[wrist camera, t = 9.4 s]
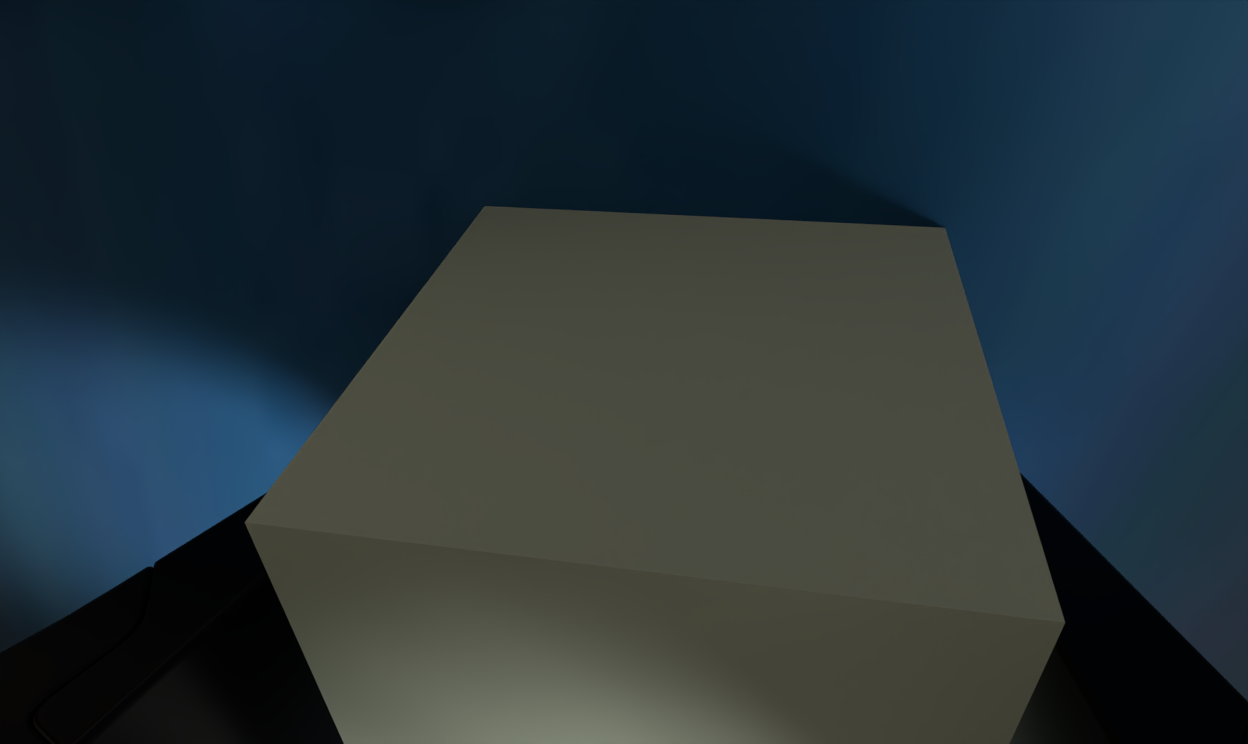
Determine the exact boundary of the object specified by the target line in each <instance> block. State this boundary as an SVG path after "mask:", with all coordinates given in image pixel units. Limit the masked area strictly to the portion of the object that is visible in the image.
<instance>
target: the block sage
mask: <svg viewBox="0 0 1248 744" xmlns="http://www.w3.org/2000/svg"><path fill="white" fill-rule="evenodd" d="M245 524H246V527H247V529H248V531H249V533H250V536H251V538H252V540H253V542H254V545H255V547H256V549H257V551H258V553H259V556H260V558H261V560H262V562H263V565H264V567H265V569H266V571H267V573H268V576H269V578H270V580H271V582H272V585H273V587H274V589H275V591H276V594H277V596H278V598H279V600H280V602H281V605H282V607H283V609H284V611H285V614H286V616H287V618H288V620H289V622H290V625H291V627H292V629H293V631H294V634H295V636H296V638H297V640H298V642H299V645H300V647H301V649H302V651H303V654H304V656H305V658H306V660H307V663H308V665H309V667H310V669H311V671H312V674H313V676H314V678H315V680H316V683H317V685H318V687H319V689H320V691H321V694H322V696H323V698H324V700H325V703H326V705H327V707H328V709H329V712H330V714H331V716H332V718H333V720H334V723H335V725H336V727H337V729H338V732H339V734H340V736H341V738H342V740H343V743H344V744H1010V741H1011V739H1012V737H1013V735H1014V733H1015V731H1016V728H1017V726H1018V724H1019V722H1020V720H1021V718H1022V715H1023V713H1024V711H1025V709H1026V707H1027V705H1028V702H1029V700H1030V698H1031V696H1032V694H1033V692H1034V689H1035V687H1036V685H1037V683H1038V681H1039V678H1040V676H1041V674H1042V672H1043V670H1044V668H1045V665H1046V663H1047V661H1048V659H1049V657H1050V655H1051V652H1052V650H1053V648H1054V646H1055V644H1056V642H1057V639H1058V637H1059V635H1060V633H1061V631H1062V629H1063V626H1064V624H1065V620H1064V617H1063V614H1062V611H1061V607H1060V604H1059V601H1058V597H1057V594H1056V591H1055V588H1054V584H1053V581H1052V578H1051V574H1050V571H1049V568H1048V565H1047V561H1046V558H1045V555H1044V551H1043V548H1042V545H1041V542H1040V538H1039V535H1038V532H1037V528H1036V525H1035V522H1034V518H1033V515H1032V512H1031V509H1030V505H1029V502H1028V499H1027V495H1026V492H1025V489H1024V486H1023V482H1022V479H1021V476H1020V472H1019V469H1018V466H1017V463H1016V459H1015V456H1014V453H1013V449H1012V446H1011V443H1010V440H1009V436H1008V433H1007V430H1006V426H1005V423H1004V420H1003V417H1002V413H1001V410H1000V407H999V403H998V400H997V397H996V394H995V390H994V387H993V384H992V380H991V377H990V374H989V371H988V367H987V364H986V361H985V357H984V354H983V351H982V348H981V344H980V341H979V338H978V334H977V331H976V328H975V325H974V321H973V318H972V315H971V311H970V308H969V305H968V302H967V298H966V295H965V292H964V288H963V285H962V282H961V279H960V275H959V272H958V269H957V265H956V262H955V259H954V255H953V252H952V249H951V246H950V242H949V239H948V236H947V232H946V229H945V228H939V227H918V226H896V225H875V224H854V223H833V222H812V221H791V220H770V219H748V218H727V217H706V216H685V215H664V214H643V213H622V212H600V211H579V210H558V209H537V208H516V207H495V206H484V208H483V209H482V210H481V212H480V213H479V214H478V216H477V217H476V218H475V219H474V221H473V222H472V223H471V225H470V226H469V227H468V229H467V230H466V231H465V233H464V234H463V235H462V237H461V238H460V239H459V241H458V242H457V243H456V245H455V246H454V247H453V248H452V250H451V251H450V252H449V254H448V255H447V256H446V258H445V259H444V260H443V262H442V263H441V264H440V266H439V267H438V268H437V270H436V271H435V272H434V274H433V275H432V276H431V277H430V279H429V280H428V281H427V283H426V284H425V285H424V287H423V288H422V289H421V291H420V292H419V293H418V295H417V296H416V297H415V299H414V300H413V301H412V302H411V304H410V305H409V306H408V308H407V309H406V310H405V312H404V313H403V314H402V316H401V317H400V318H399V320H398V321H397V322H396V324H395V325H394V326H393V328H392V329H391V330H390V331H389V333H388V334H387V335H386V337H385V338H384V339H383V341H382V342H381V343H380V345H379V346H378V347H377V349H376V350H375V351H374V353H373V354H372V355H371V357H370V358H369V359H368V360H367V362H366V363H365V364H364V366H363V367H362V368H361V370H360V371H359V372H358V374H357V375H356V376H355V378H354V379H353V380H352V382H351V383H350V384H349V386H348V387H347V388H346V389H345V391H344V392H343V393H342V395H341V396H340V397H339V399H338V400H337V401H336V403H335V404H334V405H333V407H332V408H331V409H330V411H329V412H328V413H327V415H326V416H325V417H324V418H323V420H322V421H321V422H320V424H319V425H318V426H317V428H316V429H315V430H314V432H313V433H312V434H311V436H310V437H309V438H308V440H307V441H306V442H305V444H304V445H303V446H302V447H301V449H300V450H299V451H298V453H297V454H296V455H295V457H294V458H293V459H292V461H291V462H290V463H289V465H288V466H287V467H286V469H285V470H284V471H283V473H282V474H281V475H280V476H279V478H278V479H277V480H276V482H275V483H274V484H273V486H272V487H271V488H270V490H269V491H268V492H267V494H266V495H265V496H264V498H263V499H262V500H261V501H260V503H259V504H258V505H257V507H256V508H255V509H254V511H253V512H252V513H251V515H250V516H249V517H248V519H247V520H246V521H245Z"/></svg>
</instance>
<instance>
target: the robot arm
mask: <svg viewBox="0 0 1248 744" xmlns="http://www.w3.org/2000/svg"><path fill="white" fill-rule="evenodd" d="M1020 476H1021V479H1022V482H1023V486H1024V489H1025V492H1026V495H1027V499H1028V502H1029V505H1030V509H1031V512H1032V515H1033V518H1034V522H1035V525H1036V528H1037V532H1038V535H1039V538H1040V542H1041V545H1042V548H1043V551H1044V555H1045V558H1046V561H1047V565H1048V568H1049V571H1050V574H1051V578H1052V581H1053V584H1054V588H1055V591H1056V594H1057V597H1058V601H1059V604H1060V607H1061V611H1062V614H1063V617H1064V620H1065V624H1064V626H1063V629H1062V631H1061V633H1060V635H1059V637H1058V639H1057V642H1056V644H1055V646H1054V648H1053V650H1052V652H1051V655H1050V657H1049V659H1048V661H1047V663H1046V665H1045V668H1044V670H1043V672H1042V674H1041V676H1040V678H1039V681H1038V683H1037V685H1036V687H1035V689H1034V692H1033V694H1032V696H1031V698H1030V700H1029V702H1028V705H1027V707H1026V709H1025V711H1024V713H1023V715H1022V718H1021V720H1020V722H1019V724H1018V726H1017V728H1016V731H1015V733H1014V735H1013V737H1012V739H1011V741H1010V744H1248V701H1247V700H1246V699H1245V698H1244V697H1243V696H1242V695H1241V694H1240V693H1239V692H1238V691H1237V690H1236V689H1235V688H1234V687H1233V686H1232V685H1231V684H1230V683H1229V682H1228V681H1227V680H1226V679H1225V678H1224V677H1223V676H1222V675H1221V674H1220V673H1219V672H1218V671H1217V670H1216V669H1215V668H1214V667H1213V666H1212V665H1211V664H1210V663H1209V662H1208V661H1207V660H1206V659H1205V658H1204V657H1203V656H1202V655H1201V654H1200V653H1199V652H1198V651H1197V650H1196V649H1195V648H1194V647H1193V646H1192V645H1191V644H1190V643H1189V642H1188V641H1187V640H1186V639H1185V638H1184V637H1183V636H1182V635H1181V634H1180V633H1179V632H1178V631H1177V630H1176V629H1175V628H1174V627H1173V626H1172V625H1171V624H1170V623H1169V622H1168V621H1167V620H1166V619H1165V618H1164V617H1163V616H1162V615H1161V614H1160V613H1159V612H1158V611H1157V610H1156V609H1155V608H1154V607H1153V606H1152V605H1151V604H1150V603H1149V602H1148V601H1147V600H1146V599H1145V598H1144V597H1143V596H1142V595H1141V594H1140V593H1139V592H1138V591H1137V590H1136V589H1135V588H1134V587H1133V586H1132V585H1131V584H1130V583H1129V581H1128V580H1127V579H1126V578H1125V577H1124V576H1123V575H1122V574H1121V573H1120V572H1119V571H1118V570H1117V569H1116V568H1115V567H1114V566H1113V565H1112V564H1111V563H1110V562H1109V561H1108V560H1107V559H1106V558H1105V557H1104V556H1103V555H1102V554H1101V553H1100V552H1099V551H1098V550H1097V549H1096V548H1095V547H1094V546H1093V545H1092V544H1091V543H1090V542H1089V541H1088V540H1087V539H1086V538H1085V537H1084V536H1083V535H1082V534H1081V533H1080V532H1079V531H1078V530H1077V529H1076V528H1075V527H1074V526H1073V525H1072V524H1071V523H1070V522H1069V521H1068V520H1067V519H1066V518H1065V517H1064V516H1063V515H1062V514H1061V513H1060V512H1059V511H1058V510H1057V509H1056V508H1055V507H1054V506H1053V505H1052V504H1051V503H1050V502H1049V501H1048V500H1047V499H1046V498H1045V497H1044V496H1043V495H1042V494H1041V493H1040V492H1039V491H1038V490H1037V489H1036V488H1035V487H1034V486H1033V485H1032V484H1031V483H1030V482H1029V481H1028V480H1027V479H1026V478H1025V477H1024V476H1023V475H1022V474H1021V473H1020ZM266 494H267V493H265V494H264V495H262V496H261V497H259V498H257V499H256V500H254V501H253V502H251V503H249V504H248V505H246V506H245V507H243V508H241V509H240V510H238V511H237V512H235V513H233V514H232V515H230V516H229V517H227V518H225V519H224V520H222V521H221V522H219V523H217V524H216V525H214V526H212V527H211V528H209V529H208V530H206V531H204V532H203V533H201V534H200V535H198V536H196V537H195V538H193V539H192V540H190V541H188V542H187V543H185V544H184V545H182V546H180V547H179V548H177V549H176V550H174V551H172V552H171V553H169V554H167V555H166V556H164V557H163V558H161V559H159V560H158V561H157V562H155V564H154V568H153V567H146V568H145V569H143V570H142V571H140V572H138V573H137V574H135V575H134V576H132V577H130V578H129V579H127V580H126V581H124V582H122V583H121V584H119V585H118V586H116V587H114V588H113V589H111V590H109V591H108V592H106V593H104V594H103V595H101V596H99V597H98V598H96V599H94V600H93V601H91V602H89V603H88V604H86V605H84V606H83V607H81V608H79V609H78V610H76V611H74V612H73V613H71V614H69V615H68V616H66V617H64V618H62V619H61V620H59V621H57V622H55V623H53V624H52V625H50V626H48V627H46V628H45V629H43V630H41V631H39V632H37V633H36V634H34V635H32V636H30V637H28V638H27V639H25V640H23V641H21V642H20V643H18V644H16V645H14V646H12V647H11V648H9V649H7V650H5V651H3V652H1V653H0V744H344V743H343V740H342V738H341V736H340V734H339V732H338V729H337V727H336V725H335V723H334V720H333V718H332V716H331V714H330V712H329V709H328V707H327V705H326V703H325V700H324V698H323V696H322V694H321V691H320V689H319V687H318V685H317V683H316V680H315V678H314V676H313V674H312V671H311V669H310V667H309V665H308V663H307V660H306V658H305V656H304V654H303V651H302V649H301V647H300V645H299V642H298V640H297V638H296V636H295V634H294V631H293V629H292V627H291V625H290V622H289V620H288V618H287V616H286V614H285V611H284V609H283V607H282V605H281V602H280V600H279V598H278V596H277V594H276V591H275V589H274V587H273V585H272V582H271V580H270V578H269V576H268V573H267V571H266V569H265V567H264V565H263V562H262V560H261V558H260V556H259V553H258V551H257V549H256V547H255V545H254V542H253V540H252V538H251V536H250V533H249V531H248V529H247V527H246V524H245V521H246V520H247V519H248V517H249V516H250V515H251V513H252V512H253V511H254V509H255V508H256V507H257V505H258V504H259V503H260V501H261V500H262V499H263V498H264V496H265V495H266Z"/></svg>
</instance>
